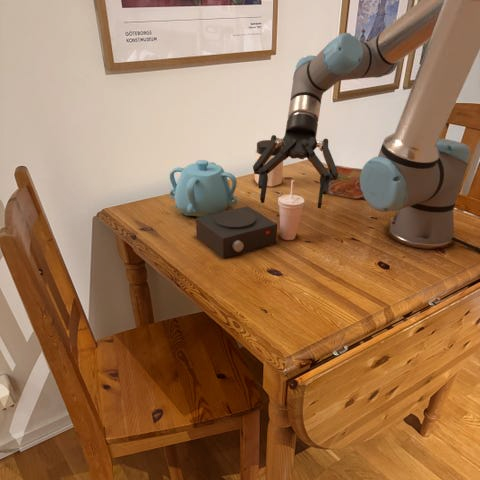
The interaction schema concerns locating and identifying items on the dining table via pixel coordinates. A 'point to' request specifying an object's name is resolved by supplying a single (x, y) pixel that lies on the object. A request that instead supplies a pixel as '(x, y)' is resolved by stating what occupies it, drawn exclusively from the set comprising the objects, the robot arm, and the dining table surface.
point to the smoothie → (290, 214)
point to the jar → (276, 173)
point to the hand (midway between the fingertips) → (290, 203)
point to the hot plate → (236, 231)
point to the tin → (346, 183)
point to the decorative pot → (202, 189)
